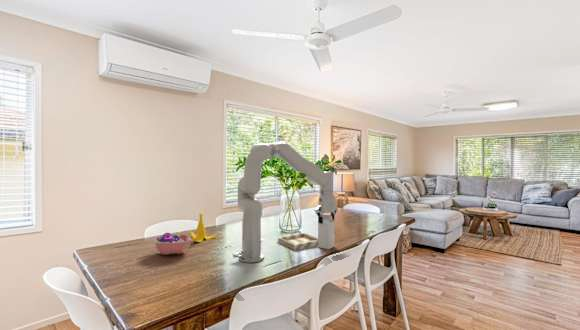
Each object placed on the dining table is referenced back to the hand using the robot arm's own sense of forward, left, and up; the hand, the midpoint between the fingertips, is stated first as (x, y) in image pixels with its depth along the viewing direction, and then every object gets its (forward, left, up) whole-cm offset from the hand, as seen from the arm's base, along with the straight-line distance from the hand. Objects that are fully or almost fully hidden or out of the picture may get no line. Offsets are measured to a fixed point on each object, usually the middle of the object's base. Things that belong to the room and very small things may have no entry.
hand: (326, 222), depth 164 cm
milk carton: (0, 0, -15) cm, 15 cm away
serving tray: (-9, +14, -15) cm, 22 cm away
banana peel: (-54, +55, -15) cm, 79 cm away
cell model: (-77, +37, -15) cm, 87 cm away
